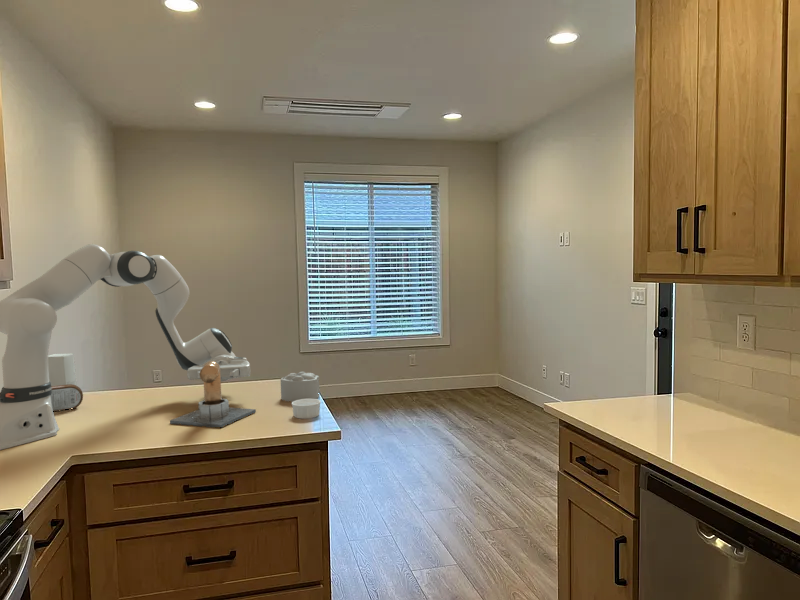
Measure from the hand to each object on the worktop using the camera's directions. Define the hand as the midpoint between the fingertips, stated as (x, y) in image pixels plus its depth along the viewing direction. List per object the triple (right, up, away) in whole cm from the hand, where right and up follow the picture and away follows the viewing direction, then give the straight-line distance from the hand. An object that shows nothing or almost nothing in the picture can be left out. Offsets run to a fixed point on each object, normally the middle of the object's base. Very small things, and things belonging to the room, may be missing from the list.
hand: (217, 375), depth 190 cm
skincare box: (-65, -11, +25) cm, 70 cm away
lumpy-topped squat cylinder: (+24, -10, +15) cm, 30 cm away
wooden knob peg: (+2, -11, -11) cm, 16 cm away
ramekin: (+30, -12, -8) cm, 33 cm away
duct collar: (+2, -12, -9) cm, 15 cm away
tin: (-54, -12, +4) cm, 55 cm away
